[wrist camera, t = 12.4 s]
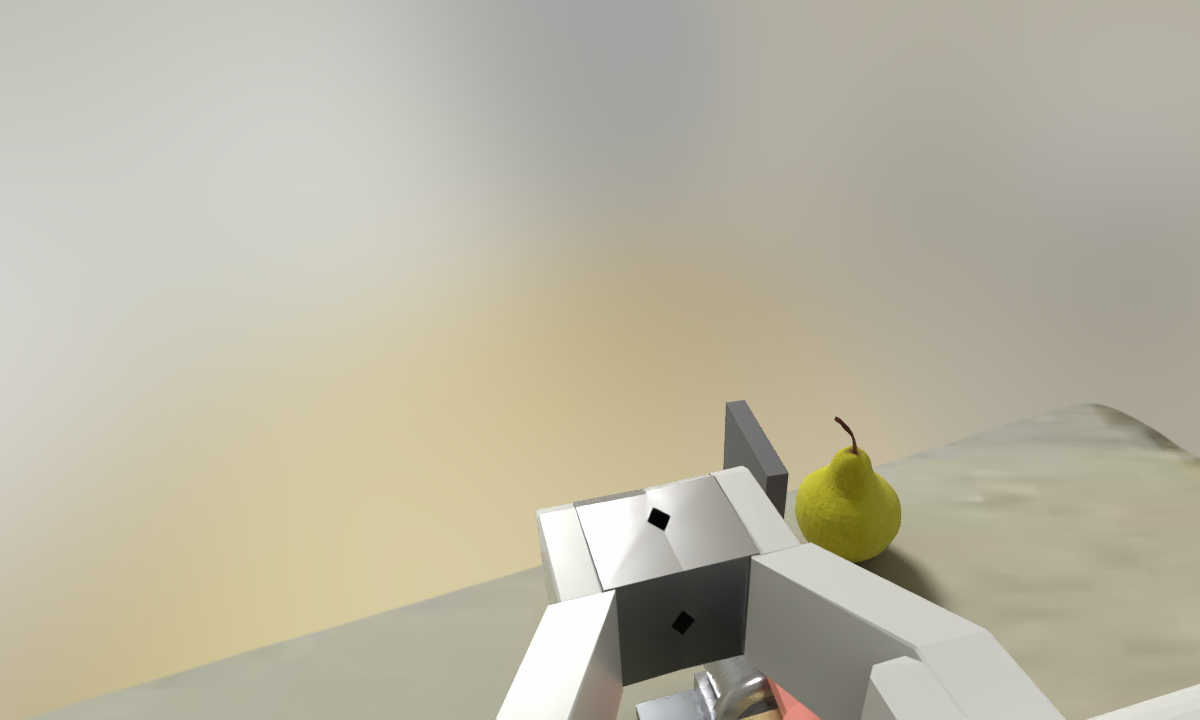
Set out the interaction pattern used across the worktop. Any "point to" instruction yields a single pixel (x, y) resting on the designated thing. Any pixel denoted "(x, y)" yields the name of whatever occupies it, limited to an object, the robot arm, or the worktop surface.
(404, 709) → the worktop surface
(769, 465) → the lever
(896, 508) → the fruit
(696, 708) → the valve
